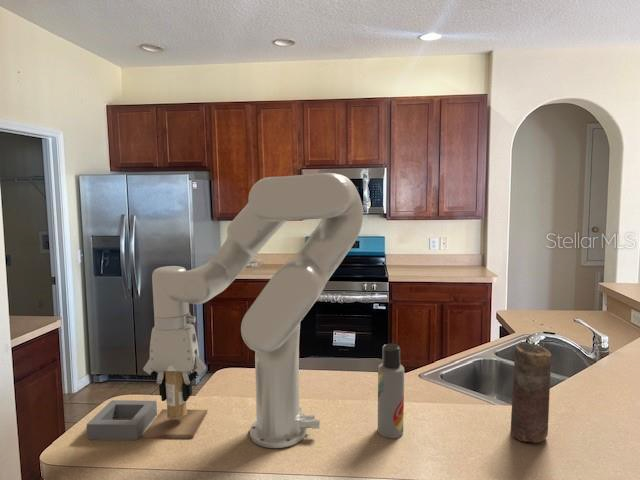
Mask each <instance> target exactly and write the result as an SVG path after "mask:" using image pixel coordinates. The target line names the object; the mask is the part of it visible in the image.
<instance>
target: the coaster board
mask: <svg viewBox="0 0 640 480" xmlns="http://www.w3.org/2000/svg"><path fill="white" fill-rule="evenodd" d="M207 414H208V409H187V414H186V416H184V417H183V418H181V419H175V420H173V419H169V418H168V417H167V408H165V409H164V408H162V409H161V411H160V412H159V413H158V414H157V415H156V417H155V418H154V419H153V420H152V422H151V423H150V424H149V425H148V427H147V428H146V429H145V431H144V432H143V433H142V435H143V438H151V439H152V438H154V439H155V438H156V439H157V438H158V439H161V438H162V439H165V438H166V439H194V437H195V435H197V432H198V430H199V429H200V427H201V425H202V423H203V421H204V420H205V418H206V416H207Z"/></svg>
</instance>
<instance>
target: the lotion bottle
mask: <svg viewBox="0 0 640 480" xmlns="http://www.w3.org/2000/svg"><path fill="white" fill-rule="evenodd" d="M381 362H382V363H380V364H379V365H378V367H377V431H378V434H379V435H380V436H382V437H384V438H386V437H387V438H386V439H397V437H398V438H400V437H401V436H402V435H403V434H404V415H405V414H404V413H405V411H404V409H405V407H404V405H405V367H404V366H403V365H402V364H401V347H400V346H399V345H398V344H396V343H387V344H384V345H383V346H382V361H381Z"/></svg>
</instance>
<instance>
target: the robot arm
mask: <svg viewBox="0 0 640 480" xmlns="http://www.w3.org/2000/svg"><path fill="white" fill-rule="evenodd" d="M363 218H364V208H363V203H362V199H361V196H360V193H359V191H358V190H357V187H356V185H355V184H354V183H353V182H352V180H351V179H349V178H348V177H347V176H345V175H343V174H339V173H333V172H320V173H319V172H318V173H310V174H300V175H299V174H298V175H297V174H296V175H288V176H287V175H286V176H285V175H284V176H269V177H263V178H261V179H259V180H258V181H257V182H255V183H253V186H252V187H251V189H250V191H249V193H248V202H247V203H246V204H245V206H244V207H243V208H242V210H241V211H239V213H237V215H236V216H235V217H234V219H233V220H231V221H230V222H229V224H228V225H227V229H226V231H227V232H226V233H227V235H226V236H227V237H226V239H225V241H224V242H223V244H222V245H221V246H220V248H219V249H218V250H217V251H216V253H215V254H214V255H213V256H212V257H211V258H210V259H209V260H208V261H207V263H205V264H202V265H200V266H197V267H195V268H192V269H189V270H187V269H186V268H185V267H183V266H180V265H179V266H178V265H166V266H161V267H160V266H159V267H158V268H156V269H154V270H153V271H152V274H151V275H152V276H151V281H152V297H153V298H152V299H153V300H152V302H153V313H154V314H153V315H154V316H153V317H154V318H153V319H154V326H153V327H152V329H151V334H150V342H149V359H148V360H147V362H146V364H144V366H143V369H142V370H143V371H144V372H145V373H147V374H148V375H150V376H151V377H152V378H153V379H154V380H155V381H156V384H158V389H159V396H160V398H161V402H165V401H166V385H165V381H166V380H165V372H167V369H168V367H169V366H173V367H174V368H175V370H176V372H182V375H183V379H184V384H183V386H182V388H183V401H186V402H187V401H188V400H189V398H190V397H191V396H192V395H193V380H194V379H195V378H196V377H198V376H199V375H200V374H201V373H203V372H204V371H205V370H206V369H207V366H206V364H205V363H204V362H203V360H202V359H201V358H200V353H199V352H200V351H199V344H198V337H197V333H196V329H195V325H194V324H193V323H196V320H197V316H194V315H191V312H190V304H192V305H201V304H202V305H203V304H205V303H206V302H208V301H210V300H212V299H213V298H214V297H216V296H217V295H219V294H221V293H222V292H224V291H225V290H227V288H228V287H229V286H230V285H231V284H232V283H233V282H234V281H235V280H236V279H237V277H239V276H240V274H241V273H242V272H243V271H244V270H245V269H246V268H247V266H248V265H249V264H250V262H252V261H253V259H254V258H255V257H256V256H257V255H258V253H259V251H261V250H262V249H263V247H264V246H265V245H266V244H267V242H269V240H270V239H271V238H272V237H273V236H274V235H275V234H277V232H278V231H279V230H280V229H281V228H282V227H283V226H284V224H285V223H287V222H289V221H305V220H319V219H320V221H319V222H318V225H317V226H316V227H315V229H314V230H313V231H312V232H311V234H310V235H309V237H308V239H307V240H306V241H305V243H304V244H303V245H302V247H301V248H300V249H299V250H298V251H297V253H296V254H295V255H294V256H293V257H292V258H291V259H290V260H288V261H286V262H285V263H284V264H283V265H281V267H279V268H278V269H277V271H276V272H275V273H274V274H273V276H272V277H271V278H269V281H268V282H267V283H266V285H264V287H263V289H262V290H261V292H260V293H259V294H258V296H257V297H256V299H255V300H254V301H253V303H252V304H251V305H250V307H249V308H248V310H247V311H246V312H245V314H244V316H243V318H242V321H241V324H240V333H241V337H242V340H243V342H244V344H245V345H246V347H248V348H249V349H250V350H252V351H254V352H255V353H254V362H255V363H254V365H255V367H254V369H255V370H254V371H255V373H254V375H255V409H256V411H255V412H256V414H255V416H256V420H255V421H254V422H253V423H252V424H251V426H250V428H249V437H250V440H252V442H254V443H255V444H257V445H258V446H261V447H263V448H269V449H281V448H288V447H291V446H294V445H297V444H298V443H299V442H301V441H303V439H304V438H305V437H306V435H307V430H308V429H313V430H315V429H319V430H320V423H321V421H320V418H317V419H315V418H316V416H315V415H316V414H305V413H303V407H300V369H299V368H300V333H301V331H300V330H301V321H303V320H304V318H305V316H306V315H307V314H308V313H309V311H310V310H311V308H312V307H313V306H314V304H315V303H316V302H317V301H318V299H319V297H320V296H321V294H322V293H323V291H324V290H325V287H326V285H327V284H328V282H329V280H330V278H331V277H332V276H333V274H334V273H335V272H336V270H337V269H338V268H339V266H340V265H341V264H342V262H343V261H344V259H345V257H346V256H347V254H349V251H351V249H352V248H353V246H354V244H355V242H356V241H357V239H358V237H359V234H360V232H361V229H362V225H363V221H364V220H363ZM195 367H196V368H195Z"/></svg>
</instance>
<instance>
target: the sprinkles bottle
mask: <svg viewBox="0 0 640 480" xmlns="http://www.w3.org/2000/svg"><path fill="white" fill-rule="evenodd" d="M165 380H166V381H165V385H166V400H165V401H166V402H165V403H166V409H167V417H168V418H169V419H173V420H175V419H181V418H183V417H184V416H186V414H187V410H188V409H187V401H183V388H182V386H183V384H184V379H183V375H182V372H176V370H175V368H174V367H173V366H169V367H168V369H167V372H165Z"/></svg>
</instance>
